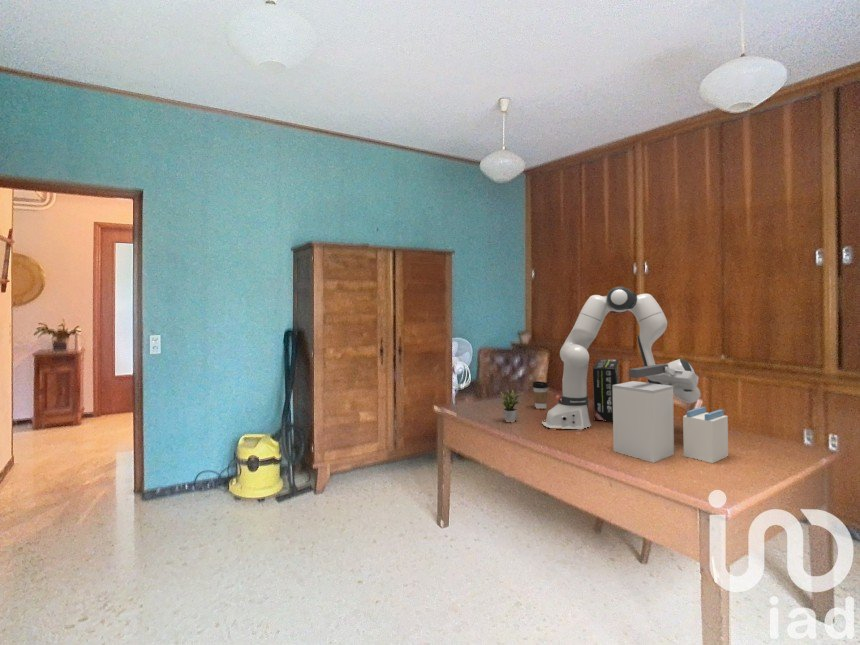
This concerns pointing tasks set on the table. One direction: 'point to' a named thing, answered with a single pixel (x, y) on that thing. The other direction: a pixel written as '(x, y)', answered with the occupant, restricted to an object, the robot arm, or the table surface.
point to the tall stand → (643, 420)
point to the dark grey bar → (647, 370)
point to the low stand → (705, 435)
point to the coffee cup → (540, 394)
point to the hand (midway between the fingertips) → (659, 367)
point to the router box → (604, 388)
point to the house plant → (510, 406)
